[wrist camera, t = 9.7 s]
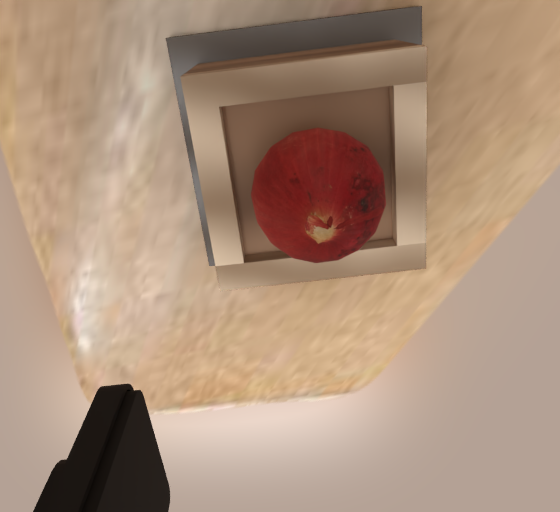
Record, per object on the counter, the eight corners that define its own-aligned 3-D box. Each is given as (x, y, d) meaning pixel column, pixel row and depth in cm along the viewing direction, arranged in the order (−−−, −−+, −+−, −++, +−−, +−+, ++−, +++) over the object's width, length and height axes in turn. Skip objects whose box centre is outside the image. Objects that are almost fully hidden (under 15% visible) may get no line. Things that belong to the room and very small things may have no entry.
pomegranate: (365, 103, 25) (398, 141, 18) (377, 215, 27) (411, 289, 20) (245, 125, 25) (230, 171, 18) (268, 233, 28) (262, 312, 21)
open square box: (169, 37, 30) (139, 44, 23) (417, 6, 29) (462, 4, 22) (210, 259, 35) (197, 318, 29) (417, 236, 35) (453, 290, 28)
